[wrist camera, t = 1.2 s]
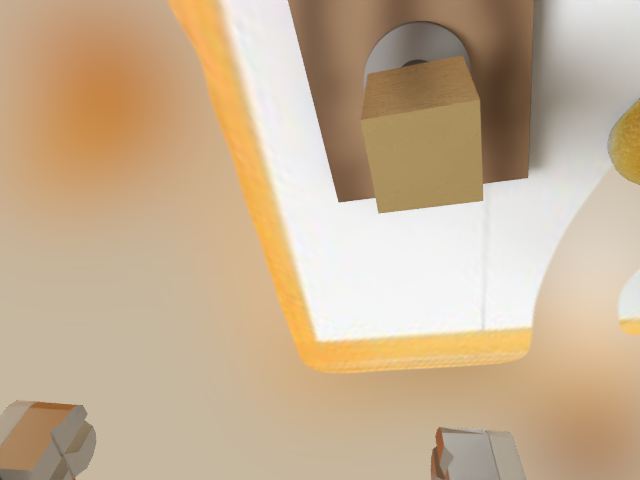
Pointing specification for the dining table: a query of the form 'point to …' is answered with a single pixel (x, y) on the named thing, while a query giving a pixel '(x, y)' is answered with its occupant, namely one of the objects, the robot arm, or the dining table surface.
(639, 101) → the bread roll
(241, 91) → the dining table surface
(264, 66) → the dining table surface
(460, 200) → the wooden cube block
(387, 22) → the walnut board
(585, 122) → the dining table surface
